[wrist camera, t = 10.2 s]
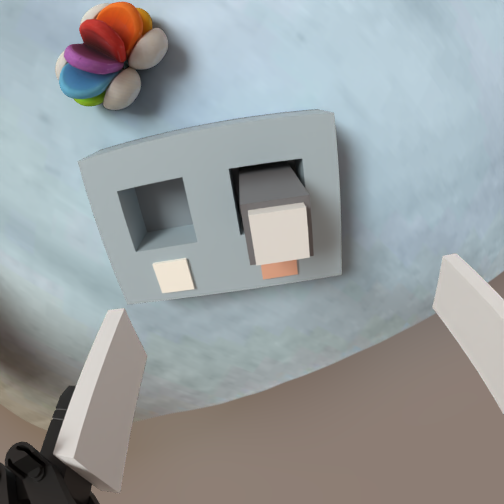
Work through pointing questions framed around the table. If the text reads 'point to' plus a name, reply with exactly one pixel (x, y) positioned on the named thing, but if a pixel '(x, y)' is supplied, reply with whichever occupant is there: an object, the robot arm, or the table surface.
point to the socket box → (209, 204)
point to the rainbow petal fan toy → (110, 56)
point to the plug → (275, 213)
